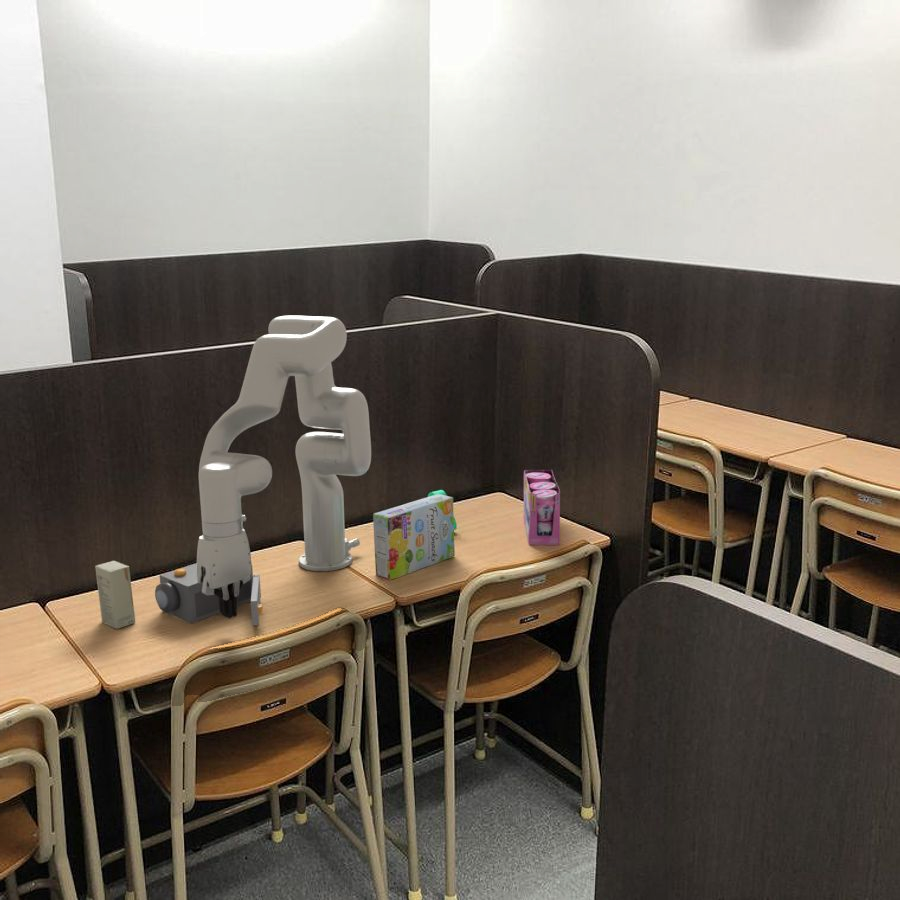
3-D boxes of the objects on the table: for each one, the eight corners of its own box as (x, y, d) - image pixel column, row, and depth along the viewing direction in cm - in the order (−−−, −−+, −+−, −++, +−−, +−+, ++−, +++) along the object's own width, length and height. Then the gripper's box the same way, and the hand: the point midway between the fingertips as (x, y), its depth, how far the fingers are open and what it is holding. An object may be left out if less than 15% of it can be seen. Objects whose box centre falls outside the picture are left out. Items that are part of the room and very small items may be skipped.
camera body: (225, 588, 209) (223, 550, 207) (254, 599, 202) (252, 561, 200) (151, 614, 195) (148, 574, 193) (179, 627, 189) (176, 586, 187)
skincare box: (136, 623, 191) (131, 566, 188) (116, 630, 188) (110, 572, 185) (119, 615, 195) (114, 559, 192) (100, 621, 192) (94, 564, 189)
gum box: (561, 547, 233) (562, 494, 230) (528, 547, 233) (529, 494, 230) (551, 517, 256) (552, 469, 253) (522, 518, 256) (523, 469, 253)
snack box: (438, 551, 231) (438, 492, 227) (455, 557, 227) (455, 497, 223) (374, 575, 216) (372, 512, 212) (390, 581, 212) (388, 517, 209)
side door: (254, 596, 202) (253, 574, 201) (264, 595, 202) (263, 573, 201) (251, 625, 188) (250, 601, 187) (262, 624, 188) (261, 600, 187)
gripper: (242, 514, 189) (247, 599, 194) (177, 532, 178) (185, 622, 183) (265, 521, 185) (271, 608, 189) (201, 541, 174) (208, 633, 178)
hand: (228, 615), depth 186 cm, fingers closed
